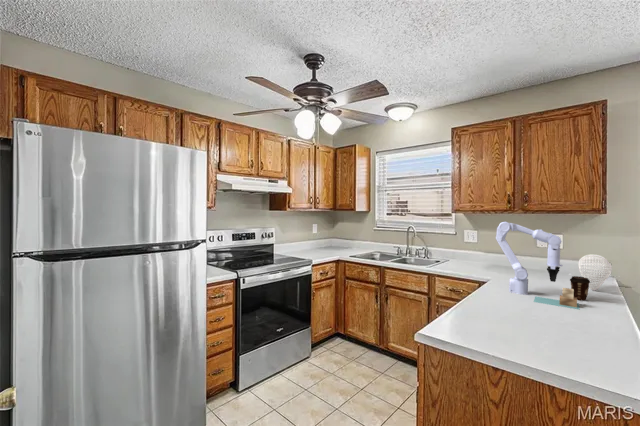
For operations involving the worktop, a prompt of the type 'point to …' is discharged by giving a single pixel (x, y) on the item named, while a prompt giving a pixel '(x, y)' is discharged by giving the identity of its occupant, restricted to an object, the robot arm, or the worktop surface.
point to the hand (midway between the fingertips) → (553, 280)
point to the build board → (552, 302)
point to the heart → (591, 257)
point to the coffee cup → (580, 287)
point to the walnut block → (568, 301)
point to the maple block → (568, 293)
